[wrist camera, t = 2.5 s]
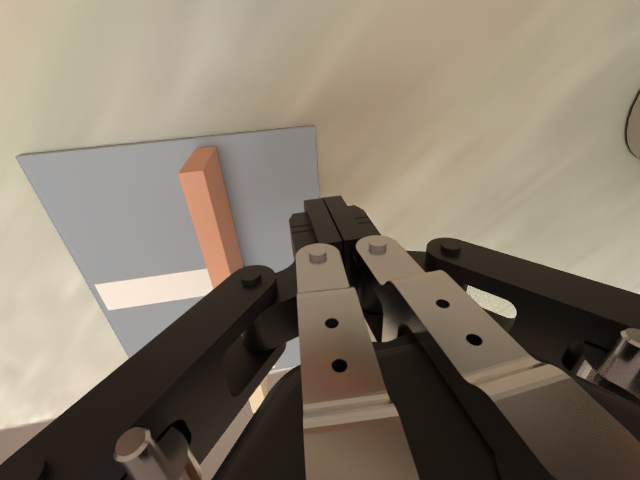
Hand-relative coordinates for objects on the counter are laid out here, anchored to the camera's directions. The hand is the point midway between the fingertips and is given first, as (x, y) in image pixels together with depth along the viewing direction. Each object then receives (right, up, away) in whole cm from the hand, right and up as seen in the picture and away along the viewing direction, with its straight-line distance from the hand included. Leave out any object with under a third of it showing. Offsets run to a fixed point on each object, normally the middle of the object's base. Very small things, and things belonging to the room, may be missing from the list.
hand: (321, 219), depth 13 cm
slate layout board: (-9, -4, +13) cm, 16 cm away
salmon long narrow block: (-7, +1, +9) cm, 12 cm away
